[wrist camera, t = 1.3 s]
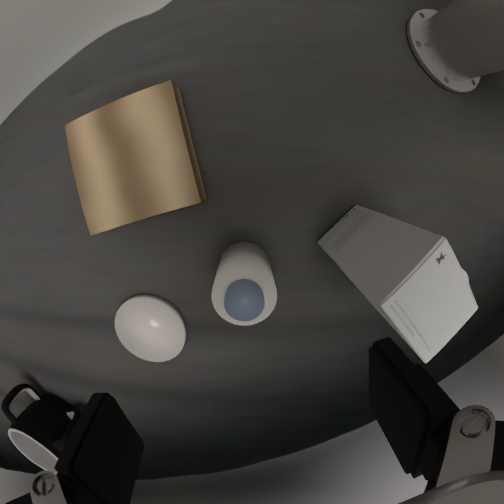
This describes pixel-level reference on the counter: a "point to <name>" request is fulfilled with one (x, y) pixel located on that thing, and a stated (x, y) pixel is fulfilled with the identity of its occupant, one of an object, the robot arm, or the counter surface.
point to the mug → (40, 426)
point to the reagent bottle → (244, 285)
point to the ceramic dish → (150, 327)
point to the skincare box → (403, 276)
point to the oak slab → (134, 158)
